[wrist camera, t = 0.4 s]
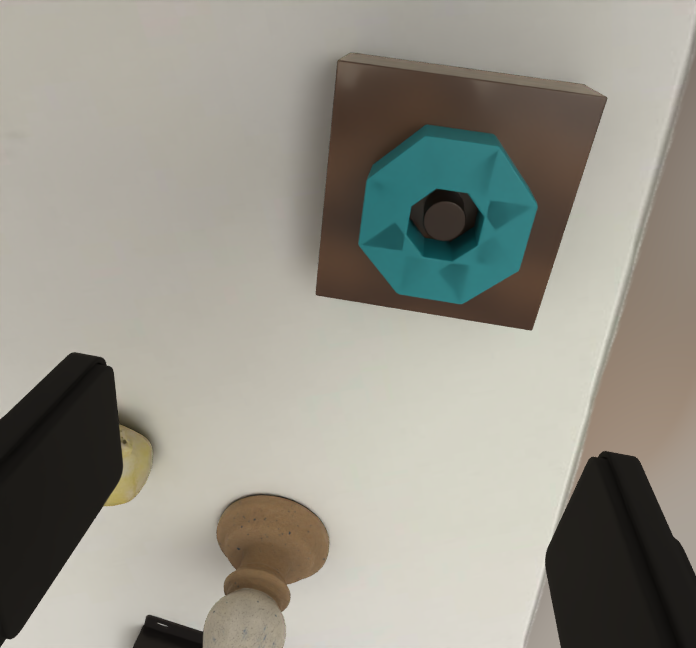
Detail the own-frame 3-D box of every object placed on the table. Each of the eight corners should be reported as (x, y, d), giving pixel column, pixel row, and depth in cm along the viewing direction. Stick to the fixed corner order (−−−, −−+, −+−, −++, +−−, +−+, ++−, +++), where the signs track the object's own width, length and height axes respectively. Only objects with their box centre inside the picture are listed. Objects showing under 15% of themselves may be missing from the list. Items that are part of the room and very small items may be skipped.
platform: (350, 52, 27) (330, 63, 22) (585, 84, 26) (620, 104, 21) (328, 264, 32) (308, 312, 27) (521, 295, 32) (537, 350, 27)
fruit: (62, 469, 44) (75, 390, 38) (142, 480, 46) (166, 407, 40) (39, 541, 40) (48, 466, 34) (128, 550, 42) (152, 481, 36)
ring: (378, 117, 24) (373, 127, 22) (543, 140, 24) (553, 154, 22) (358, 266, 28) (352, 287, 26) (502, 289, 27) (507, 312, 25)
